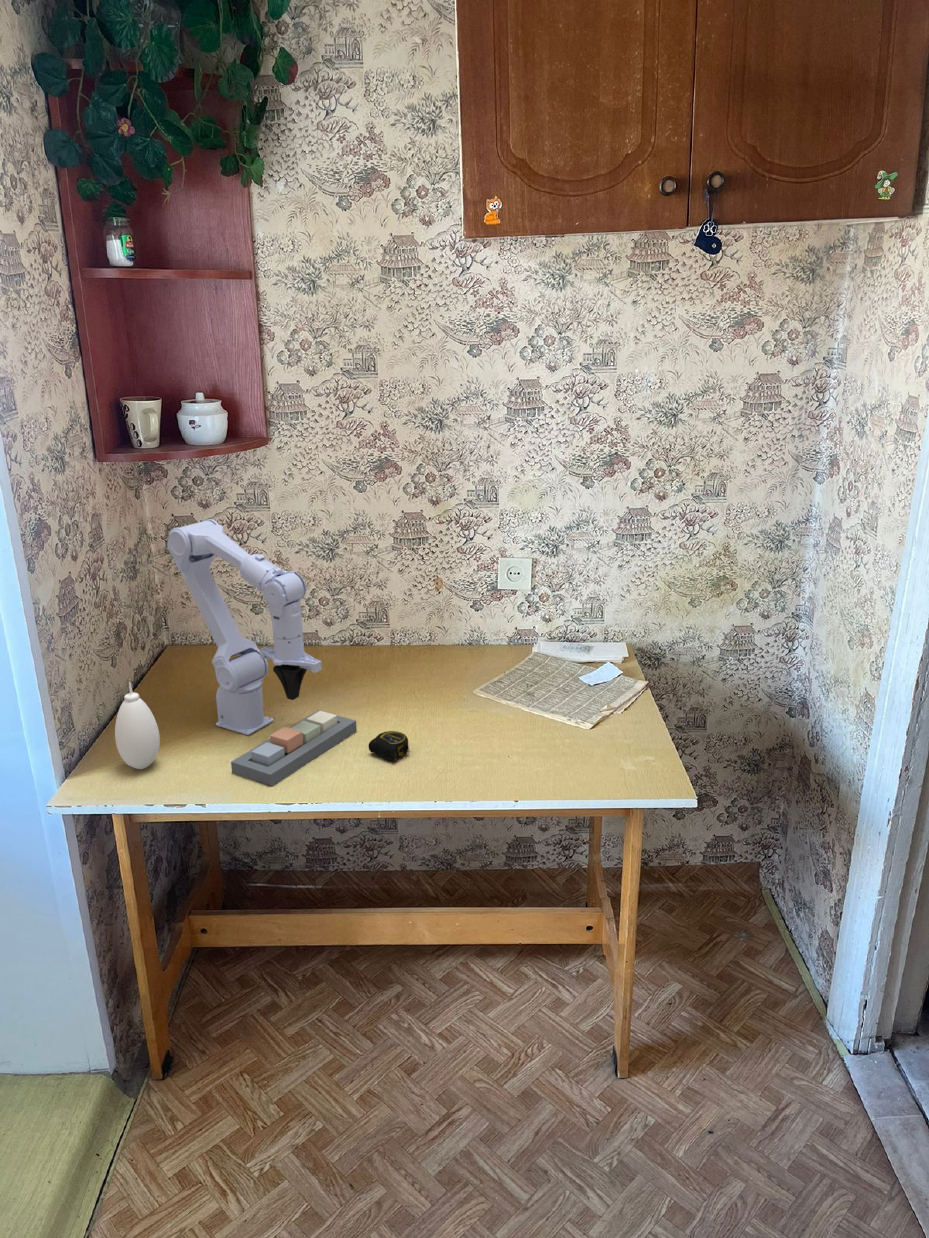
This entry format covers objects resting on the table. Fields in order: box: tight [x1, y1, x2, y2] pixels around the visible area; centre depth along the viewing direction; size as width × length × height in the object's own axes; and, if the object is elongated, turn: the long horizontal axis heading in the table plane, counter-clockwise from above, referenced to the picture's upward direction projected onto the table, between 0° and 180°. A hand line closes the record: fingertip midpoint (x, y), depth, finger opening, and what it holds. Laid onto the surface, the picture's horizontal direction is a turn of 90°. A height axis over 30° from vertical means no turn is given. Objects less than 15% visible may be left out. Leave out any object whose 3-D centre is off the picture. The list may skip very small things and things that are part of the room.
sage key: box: [292, 721, 321, 746], centre depth 189 cm, size 4×4×3 cm
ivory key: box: [306, 710, 337, 734], centre depth 194 cm, size 4×4×3 cm
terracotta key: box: [269, 726, 303, 753], centre depth 185 cm, size 4×4×3 cm
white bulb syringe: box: [114, 681, 161, 770], centre depth 180 cm, size 8×8×18 cm
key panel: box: [230, 709, 358, 788], centre depth 188 cm, size 10×26×2 cm, turn 149°
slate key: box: [251, 742, 285, 767], centre depth 181 cm, size 4×4×3 cm
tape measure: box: [368, 730, 410, 762], centre depth 186 cm, size 7×7×4 cm
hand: (293, 697), depth 189 cm, fingers closed
